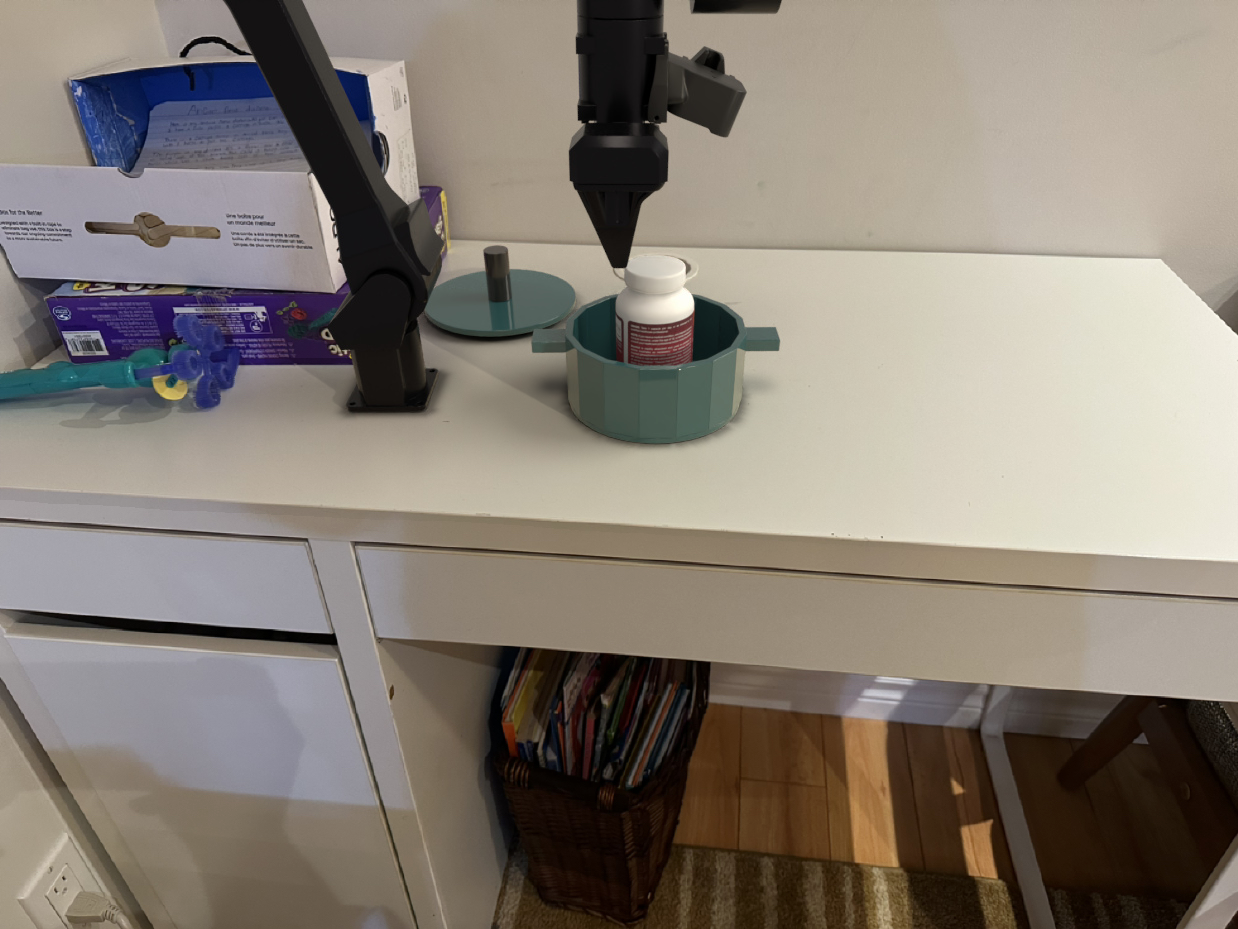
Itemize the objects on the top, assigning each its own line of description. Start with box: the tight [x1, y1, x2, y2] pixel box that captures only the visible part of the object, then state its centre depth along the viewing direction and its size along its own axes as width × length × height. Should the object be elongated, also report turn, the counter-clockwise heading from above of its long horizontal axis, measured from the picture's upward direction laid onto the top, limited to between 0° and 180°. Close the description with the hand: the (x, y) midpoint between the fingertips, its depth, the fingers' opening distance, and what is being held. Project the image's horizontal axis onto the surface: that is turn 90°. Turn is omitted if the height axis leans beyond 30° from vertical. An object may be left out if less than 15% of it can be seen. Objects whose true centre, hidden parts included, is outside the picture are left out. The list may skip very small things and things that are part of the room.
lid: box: [423, 244, 577, 337], centre depth 84 cm, size 15×15×6 cm
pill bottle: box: [616, 254, 694, 366], centre depth 67 cm, size 6×6×11 cm
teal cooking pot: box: [530, 293, 781, 445], centre depth 69 cm, size 14×20×6 cm
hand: (620, 244), depth 64 cm, fingers open, 9 cm apart
